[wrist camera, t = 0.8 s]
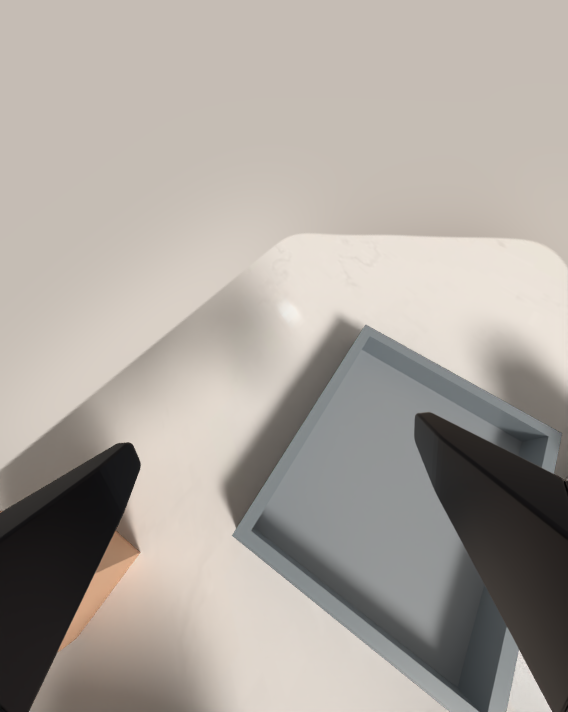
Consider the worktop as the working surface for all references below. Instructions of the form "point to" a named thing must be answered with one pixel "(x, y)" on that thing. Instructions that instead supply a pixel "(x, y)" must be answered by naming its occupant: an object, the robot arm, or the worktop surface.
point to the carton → (102, 583)
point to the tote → (393, 521)
